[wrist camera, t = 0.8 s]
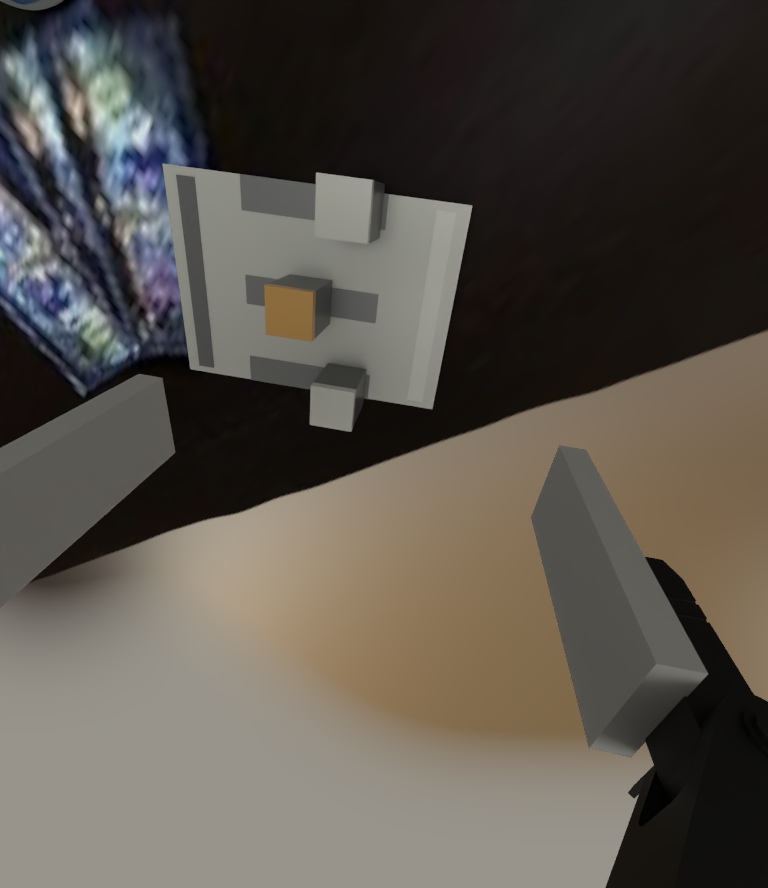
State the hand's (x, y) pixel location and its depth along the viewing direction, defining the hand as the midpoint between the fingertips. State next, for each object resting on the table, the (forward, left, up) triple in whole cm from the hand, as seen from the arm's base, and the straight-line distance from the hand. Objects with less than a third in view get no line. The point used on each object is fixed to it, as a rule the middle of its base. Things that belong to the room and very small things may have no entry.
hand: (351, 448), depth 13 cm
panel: (-7, 0, -21) cm, 22 cm away
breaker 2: (-4, +6, -19) cm, 20 cm away
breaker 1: (-7, 0, -19) cm, 20 cm away
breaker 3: (-4, -6, -19) cm, 20 cm away
